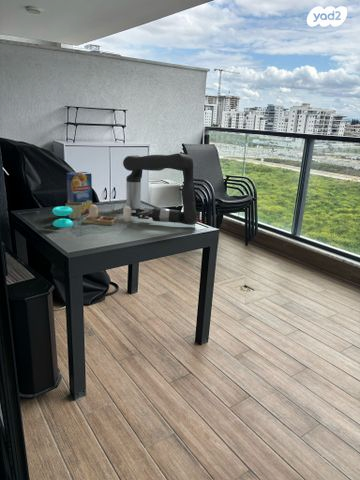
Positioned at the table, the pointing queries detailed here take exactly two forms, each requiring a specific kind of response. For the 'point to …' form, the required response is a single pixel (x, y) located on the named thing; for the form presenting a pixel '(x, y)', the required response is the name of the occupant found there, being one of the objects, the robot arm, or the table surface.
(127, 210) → the cream egg
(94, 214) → the brown egg
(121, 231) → the table surface
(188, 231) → the table surface
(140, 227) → the table surface
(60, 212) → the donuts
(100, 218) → the egg holder
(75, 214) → the flower pot
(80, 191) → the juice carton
